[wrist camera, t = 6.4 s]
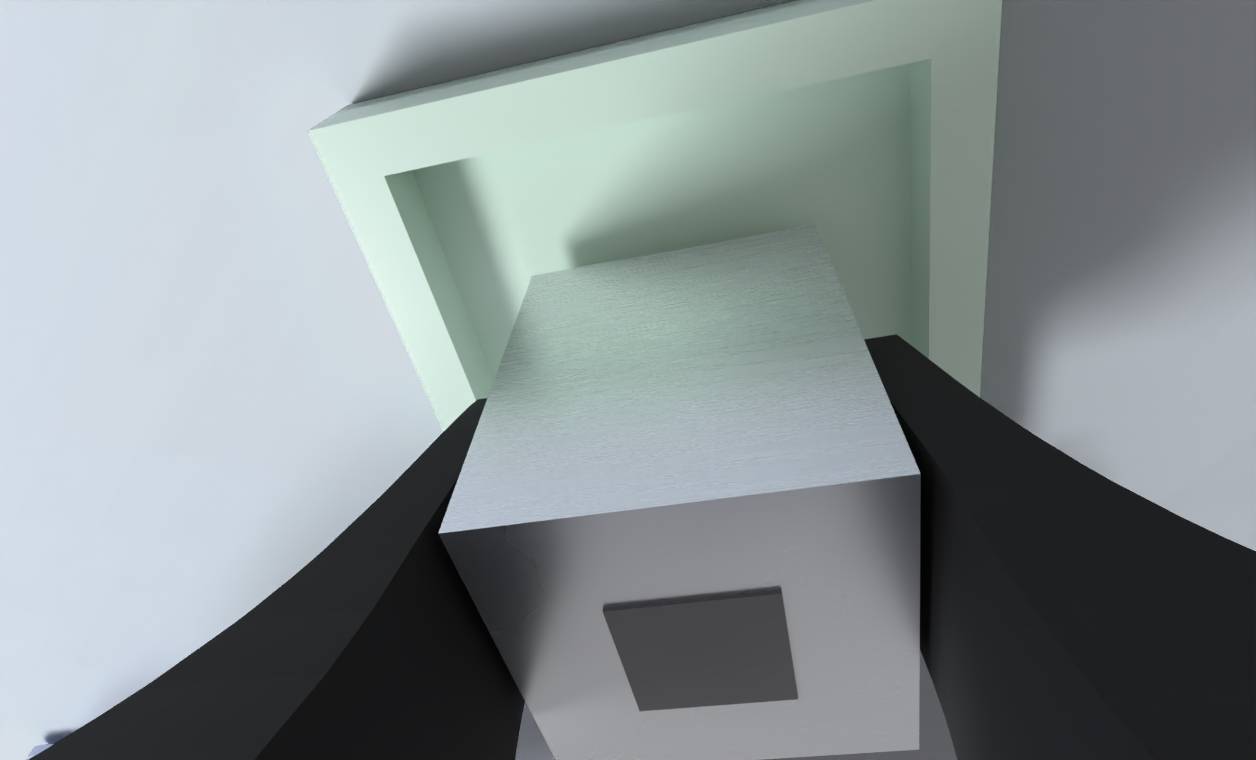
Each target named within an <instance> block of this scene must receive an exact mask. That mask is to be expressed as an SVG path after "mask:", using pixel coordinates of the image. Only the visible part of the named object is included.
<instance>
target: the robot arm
mask: <svg viewBox="0 0 1256 760" xmlns="http://www.w3.org/2000/svg"><path fill="white" fill-rule="evenodd" d="M864 341H865V343H866V346H867V348H868V350H869V353H870V355H871V358H872V360H873V362H874V365H875V367H876V369H877V372H878V374H879V376H880V379H881V381H882V384H883V386H884V388H885V391H886V393H887V395H888V398H889V400H890V403H891V405H892V407H893V410H894V412H895V414H896V417H897V419H898V421H899V424H900V426H901V429H902V431H903V433H904V436H905V438H906V440H907V443H908V445H909V448H910V450H911V452H912V455H913V457H914V459H915V462H916V464H917V467H918V469H919V471H920V474H921V495H920V651H921V654H922V656H923V659H924V661H925V664H926V666H927V669H928V671H929V674H930V676H931V679H932V681H933V684H934V687H935V690H936V693H937V696H938V698H939V701H940V704H941V707H942V710H943V713H944V716H945V719H946V722H947V725H948V729H949V732H950V736H951V739H952V743H953V746H954V749H955V753H956V756H957V760H1256V551H1254V550H1251V549H1249V548H1247V547H1244V546H1242V545H1240V544H1238V543H1235V542H1233V541H1231V540H1228V539H1226V538H1224V537H1222V536H1220V535H1218V534H1216V533H1213V532H1211V531H1209V530H1207V529H1205V528H1203V527H1201V526H1199V525H1197V524H1194V523H1192V522H1190V521H1188V520H1186V519H1184V518H1182V517H1180V516H1178V515H1176V514H1174V513H1172V512H1170V511H1168V510H1166V509H1164V508H1163V507H1161V506H1159V505H1157V504H1155V503H1153V502H1151V501H1149V500H1147V499H1145V498H1143V497H1141V496H1139V495H1137V494H1136V493H1134V492H1132V491H1130V490H1128V489H1126V488H1124V487H1122V486H1120V485H1118V484H1116V483H1114V482H1113V481H1111V480H1109V479H1107V478H1105V477H1104V476H1102V475H1100V474H1098V473H1097V472H1095V471H1093V470H1091V469H1089V468H1088V467H1086V466H1084V465H1083V464H1081V463H1079V462H1078V461H1076V460H1074V459H1073V458H1071V457H1069V456H1068V455H1066V454H1065V453H1063V452H1061V451H1060V450H1058V449H1056V448H1055V447H1053V446H1052V445H1050V444H1048V443H1047V442H1045V441H1043V440H1042V439H1040V438H1038V437H1037V436H1035V435H1034V434H1032V433H1031V432H1029V431H1028V430H1026V429H1025V428H1023V427H1022V426H1020V425H1018V424H1017V423H1015V422H1014V421H1013V420H1011V419H1010V418H1008V417H1007V416H1005V415H1004V414H1003V413H1001V412H1000V411H998V410H997V409H995V408H994V407H993V406H991V405H990V404H988V403H987V402H985V401H984V400H983V399H981V398H980V397H978V396H977V395H976V394H974V393H973V392H972V391H970V390H969V389H968V388H966V387H965V386H964V385H962V384H961V383H960V382H958V381H957V380H956V379H954V378H953V377H952V376H950V375H949V374H948V373H946V372H945V371H944V370H942V369H941V368H940V367H939V366H937V365H936V364H935V363H933V362H932V361H931V360H930V359H928V358H927V357H926V356H925V355H923V354H922V353H921V352H919V351H918V350H917V349H916V348H914V347H913V346H912V345H910V344H909V343H908V342H906V341H905V340H904V339H902V338H901V337H900V336H898V335H897V334H895V335H889V336H883V337H876V338H870V339H864ZM486 401H487V398H483V399H477V400H476V401H475V402H474V403H473V404H472V405H470V406H469V407H468V408H467V409H466V410H465V411H464V412H463V413H462V414H461V415H460V416H459V417H458V418H457V419H456V420H455V421H454V422H453V423H452V424H451V425H450V426H449V427H448V428H447V429H446V430H445V431H444V432H443V433H442V434H441V435H440V436H439V437H438V438H437V439H436V440H435V441H434V442H433V443H432V444H431V445H430V446H429V448H428V449H427V450H426V451H425V452H424V453H423V454H422V455H421V456H420V457H419V458H418V459H417V460H416V461H415V462H414V463H413V464H412V465H411V466H410V467H409V468H408V469H407V470H406V471H405V472H404V473H403V474H402V475H401V476H400V477H399V478H398V479H397V480H396V481H395V482H394V483H393V484H392V485H391V487H390V488H389V489H388V490H387V491H386V492H385V493H384V494H383V495H382V496H381V497H380V498H378V499H377V500H376V501H375V502H374V503H373V504H372V505H371V506H370V507H369V508H368V509H367V510H366V511H365V512H364V513H363V514H362V515H360V516H359V517H358V518H357V519H356V520H355V521H354V522H353V523H352V524H351V525H350V526H349V527H348V528H347V529H346V530H345V531H343V532H342V533H341V534H340V535H339V536H338V537H337V538H336V539H335V540H334V541H333V542H332V543H331V544H330V545H329V546H328V547H327V548H325V549H324V550H323V551H322V552H321V553H320V554H319V555H318V556H316V557H315V558H314V559H313V560H312V561H311V562H310V563H308V564H307V565H306V566H305V567H304V568H303V569H301V570H300V571H299V572H298V573H297V574H296V575H294V576H293V577H292V578H291V579H290V580H288V581H287V582H286V583H285V584H283V585H282V586H281V587H280V588H278V589H277V590H276V591H275V592H273V593H272V594H271V595H270V596H269V597H267V598H266V599H265V600H264V601H262V602H261V603H260V604H259V605H257V606H256V607H255V608H254V609H252V610H251V611H250V612H248V613H247V614H246V615H245V616H243V617H242V618H241V619H239V620H238V621H237V622H235V623H234V624H233V625H231V626H230V627H228V628H227V629H226V630H224V631H223V632H221V633H220V634H219V635H217V636H216V637H214V638H213V639H212V640H210V641H209V642H207V643H206V644H205V645H203V646H202V647H200V648H199V649H198V650H196V651H195V652H193V653H192V654H191V655H189V656H188V657H186V658H185V659H184V660H182V661H181V662H179V663H178V664H177V665H175V666H174V667H172V668H171V669H170V670H168V671H167V672H165V673H164V674H163V675H161V676H160V677H158V678H157V679H156V680H154V681H153V682H151V683H150V684H148V685H147V686H145V687H144V688H142V689H141V690H139V691H137V692H136V693H134V694H133V695H131V696H130V697H128V698H127V699H125V700H124V701H122V702H120V703H119V704H117V705H116V706H114V707H113V708H111V709H110V710H108V711H107V712H105V713H103V714H102V715H100V716H99V717H97V718H96V719H94V720H92V721H91V722H89V723H88V724H86V725H84V726H83V727H81V728H79V729H78V730H76V731H75V732H73V733H71V734H70V735H68V736H66V737H65V738H63V739H62V740H60V741H58V742H57V743H55V744H45V745H39V746H35V747H34V748H33V750H32V751H31V752H30V754H29V755H28V756H27V757H26V760H515V756H516V748H517V742H518V736H519V730H520V724H521V718H522V712H523V708H524V703H525V700H524V698H523V696H522V694H521V692H520V691H519V689H518V687H517V685H516V683H515V681H514V679H513V677H512V675H511V673H510V671H509V669H508V667H507V665H506V664H505V662H504V660H503V658H502V656H501V654H500V652H499V650H498V648H497V646H496V644H495V642H494V640H493V639H492V637H491V635H490V633H489V631H488V629H487V627H486V625H485V623H484V621H483V619H482V617H481V615H480V613H479V612H478V610H477V608H476V606H475V604H474V602H473V600H472V598H471V596H470V594H469V592H468V590H467V588H466V586H465V585H464V583H463V581H462V579H461V577H460V575H459V573H458V571H457V569H456V567H455V565H454V563H453V561H452V559H451V558H450V556H449V554H448V552H447V550H446V548H445V546H444V544H443V542H442V540H441V538H440V536H439V534H438V533H439V530H440V527H441V524H442V522H443V519H444V516H445V513H446V511H447V508H448V505H449V502H450V500H451V497H452V494H453V492H454V489H455V486H456V483H457V481H458V478H459V475H460V472H461V470H462V467H463V464H464V461H465V459H466V456H467V453H468V450H469V448H470V445H471V442H472V439H473V437H474V434H475V431H476V428H477V426H478V423H479V420H480V417H481V415H482V412H483V409H484V406H485V404H486Z"/></svg>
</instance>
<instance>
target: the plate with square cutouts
mask: <svg viewBox="0 0 1256 760" xmlns="http://www.w3.org/2000/svg"><path fill="white" fill-rule="evenodd" d="M763 760H957V756H956V753H955V749H954V746H953V743H952V739H951V736H950V732H949V729H948V725H947V722H946V719H945V716H944V713H943V710H942V707H941V704H940V701H939V698H938V696H937V693H936V690H935V687H934V684H933V681H932V679H931V676H930V674H929V671H928V669H927V666H926V664H925V661H924V659H923V656H922V654H921V651H920V681H919V750H905V751H889V752H873V753H857V754H842V755H826V756H810V757H794V758H778V759H763Z"/></svg>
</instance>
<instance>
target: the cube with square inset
mask: <svg viewBox="0 0 1256 760" xmlns="http://www.w3.org/2000/svg"><path fill="white" fill-rule="evenodd" d="M920 495H921V474H920V471H919V469H918V467H917V464H916V462H915V459H914V457H913V455H912V452H911V450H910V448H909V445H908V443H907V440H906V438H905V436H904V433H903V431H902V429H901V426H900V424H899V421H898V419H897V417H896V414H895V412H894V410H893V407H892V405H891V403H890V400H889V398H888V395H887V393H886V391H885V388H884V386H883V384H882V381H881V379H880V376H879V374H878V372H877V369H876V367H875V365H874V362H873V360H872V358H871V355H870V353H869V350H868V348H867V346H866V343H865V341H864V339H863V336H862V334H861V331H860V329H859V327H858V324H857V322H856V320H855V317H854V315H853V313H852V310H851V308H850V305H849V303H848V301H847V298H846V296H845V294H844V291H843V289H842V286H841V284H840V282H839V279H838V277H837V275H836V272H835V270H834V267H833V265H832V263H831V260H830V258H829V256H828V253H827V251H826V249H825V246H824V244H823V241H822V239H821V237H820V234H819V232H818V230H817V227H816V225H815V224H813V225H807V226H802V227H796V228H791V229H785V230H780V231H774V232H769V233H763V234H758V235H753V236H747V237H742V238H736V239H731V240H725V241H720V242H714V243H709V244H703V245H698V246H693V247H687V248H682V249H676V250H671V251H665V252H660V253H654V254H649V255H643V256H638V257H633V258H627V259H622V260H616V261H611V262H605V263H600V264H594V265H589V266H583V267H578V268H572V269H567V270H562V271H556V272H551V273H545V274H540V275H534V276H532V277H531V280H530V283H529V285H528V288H527V291H526V294H525V296H524V299H523V302H522V305H521V307H520V310H519V313H518V316H517V318H516V321H515V324H514V327H513V329H512V332H511V335H510V338H509V340H508V343H507V346H506V349H505V351H504V354H503V357H502V360H501V362H500V365H499V368H498V371H497V373H496V376H495V379H494V382H493V384H492V387H491V390H490V393H489V395H488V398H487V401H486V404H485V406H484V409H483V412H482V415H481V417H480V420H479V423H478V426H477V428H476V431H475V434H474V437H473V439H472V442H471V445H470V448H469V450H468V453H467V456H466V459H465V461H464V464H463V467H462V470H461V472H460V475H459V478H458V481H457V483H456V486H455V489H454V492H453V494H452V497H451V500H450V502H449V505H448V508H447V511H446V513H445V516H444V519H443V522H442V524H441V527H440V530H439V533H438V534H439V536H440V538H441V540H442V542H443V544H444V546H445V548H446V550H447V552H448V554H449V556H450V558H451V559H452V561H453V563H454V565H455V567H456V569H457V571H458V573H459V575H460V577H461V579H462V581H463V583H464V585H465V586H466V588H467V590H468V592H469V594H470V596H471V598H472V600H473V602H474V604H475V606H476V608H477V610H478V612H479V613H480V615H481V617H482V619H483V621H484V623H485V625H486V627H487V629H488V631H489V633H490V635H491V637H492V639H493V640H494V642H495V644H496V646H497V648H498V650H499V652H500V654H501V656H502V658H503V660H504V662H505V664H506V665H507V667H508V669H509V671H510V673H511V675H512V677H513V679H514V681H515V683H516V685H517V687H518V689H519V691H520V692H521V694H522V696H523V698H524V700H525V702H526V704H527V706H528V708H529V710H530V712H531V714H532V716H533V718H534V719H535V721H536V723H537V725H538V727H539V729H540V731H541V733H542V735H543V737H544V739H545V741H546V743H547V745H548V746H549V748H550V750H551V752H552V754H553V756H554V758H555V760H763V759H778V758H794V757H810V756H826V755H842V754H857V753H873V752H889V751H905V750H919V681H920Z"/></svg>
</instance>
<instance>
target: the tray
mask: <svg viewBox="0 0 1256 760" xmlns="http://www.w3.org/2000/svg"><path fill="white" fill-rule="evenodd" d="M1001 14H1002V0H795V1H790V2H786V3H782V4H777V5H773V6H769V7H765V8H760V9H756V10H752V11H748V12H743V13H739V14H735V15H730V16H726V17H722V18H718V19H713V20H709V21H705V22H701V23H696V24H692V25H688V26H684V27H679V28H675V29H671V30H666V31H662V32H658V33H654V34H649V35H645V36H641V37H637V38H632V39H628V40H624V41H619V42H615V43H611V44H607V45H602V46H598V47H594V48H590V49H585V50H581V51H577V52H573V53H568V54H564V55H560V56H555V57H551V58H547V59H543V60H538V61H534V62H530V63H526V64H521V65H517V66H513V67H508V68H504V69H500V70H496V71H491V72H487V73H483V74H479V75H474V76H470V77H466V78H462V79H457V80H453V81H449V82H444V83H440V84H436V85H432V86H427V87H423V88H419V89H415V90H410V91H406V92H402V93H397V94H393V95H389V96H385V97H380V98H376V99H372V100H368V101H363V102H359V103H355V104H351V105H348V106H346V107H344V108H343V109H341V110H340V111H338V112H337V113H335V114H333V115H332V116H330V117H329V118H327V119H325V120H324V121H322V122H321V123H319V124H317V125H316V126H314V127H313V128H311V129H310V130H308V131H307V132H308V134H309V136H310V138H311V141H312V143H313V145H314V147H315V149H316V152H317V154H318V156H319V158H320V160H321V163H322V165H323V167H324V169H325V171H326V174H327V176H328V178H329V180H330V182H331V185H332V187H333V189H334V191H335V194H336V196H337V198H338V200H339V202H340V205H341V207H342V209H343V211H344V213H345V216H346V218H347V220H348V222H349V224H350V227H351V229H352V231H353V233H354V235H355V238H356V240H357V242H358V244H359V246H360V249H361V251H362V253H363V255H364V258H365V260H366V262H367V264H368V266H369V269H370V271H371V273H372V275H373V277H374V280H375V282H376V284H377V286H378V288H379V291H380V293H381V295H382V297H383V299H384V302H385V304H386V306H387V308H388V310H389V313H390V315H391V317H392V319H393V322H394V324H395V326H396V328H397V330H398V333H399V335H400V337H401V339H402V341H403V344H404V346H405V348H406V350H407V352H408V355H409V357H410V359H411V361H412V363H413V366H414V368H415V370H416V372H417V374H418V377H419V379H420V381H421V383H422V386H423V388H424V390H425V392H426V394H427V397H428V399H429V401H430V403H431V405H432V408H433V410H434V412H435V414H436V416H437V419H438V421H439V423H440V425H441V427H442V430H443V432H444V431H445V430H446V429H447V428H448V427H449V426H450V425H451V424H452V423H453V422H454V421H455V420H456V419H457V418H458V417H459V416H460V415H461V414H462V413H463V412H464V411H465V410H466V409H467V408H468V407H469V406H470V405H472V404H473V403H474V402H475V401H476V400H477V399H483V398H488V395H489V393H490V390H491V387H492V384H493V382H494V379H495V376H496V373H497V371H498V368H499V365H500V362H501V360H502V357H503V354H504V351H505V349H506V346H507V343H508V340H509V338H510V335H511V332H512V329H513V327H514V324H515V321H516V318H517V316H518V313H519V310H520V307H521V305H522V302H523V299H524V296H525V294H526V291H527V288H528V285H529V283H530V280H531V277H532V276H534V275H540V274H545V273H551V272H556V271H562V270H567V269H572V268H578V267H583V266H589V265H594V264H600V263H605V262H611V261H616V260H622V259H627V258H633V257H638V256H643V255H649V254H654V253H660V252H665V251H671V250H676V249H682V248H687V247H693V246H698V245H703V244H709V243H714V242H720V241H725V240H731V239H736V238H742V237H747V236H753V235H758V234H763V233H769V232H774V231H780V230H785V229H791V228H796V227H802V226H807V225H813V224H815V225H816V227H817V230H818V232H819V234H820V237H821V239H822V241H823V244H824V246H825V249H826V251H827V253H828V256H829V258H830V260H831V263H832V265H833V267H834V270H835V272H836V275H837V277H838V279H839V282H840V284H841V286H842V289H843V291H844V294H845V296H846V298H847V301H848V303H849V305H850V308H851V310H852V313H853V315H854V317H855V320H856V322H857V324H858V327H859V329H860V331H861V334H862V336H863V339H870V338H876V337H883V336H889V335H895V334H897V335H898V336H900V337H901V338H902V339H904V340H905V341H906V342H908V343H909V344H910V345H912V346H913V347H914V348H916V349H917V350H918V351H919V352H921V353H922V354H923V355H925V356H926V357H927V358H928V359H930V360H931V361H932V362H933V363H935V364H936V365H937V366H939V367H940V368H941V369H942V370H944V371H945V372H946V373H948V374H949V375H950V376H952V377H953V378H954V379H956V380H957V381H958V382H960V383H961V384H962V385H964V386H965V387H966V388H968V389H969V390H970V391H972V392H973V393H974V394H976V395H977V396H978V397H980V387H981V369H982V352H983V334H984V316H985V298H986V281H987V263H988V245H989V227H990V209H991V192H992V174H993V156H994V138H995V121H996V103H997V85H998V67H999V50H1000V32H1001Z"/></svg>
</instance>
